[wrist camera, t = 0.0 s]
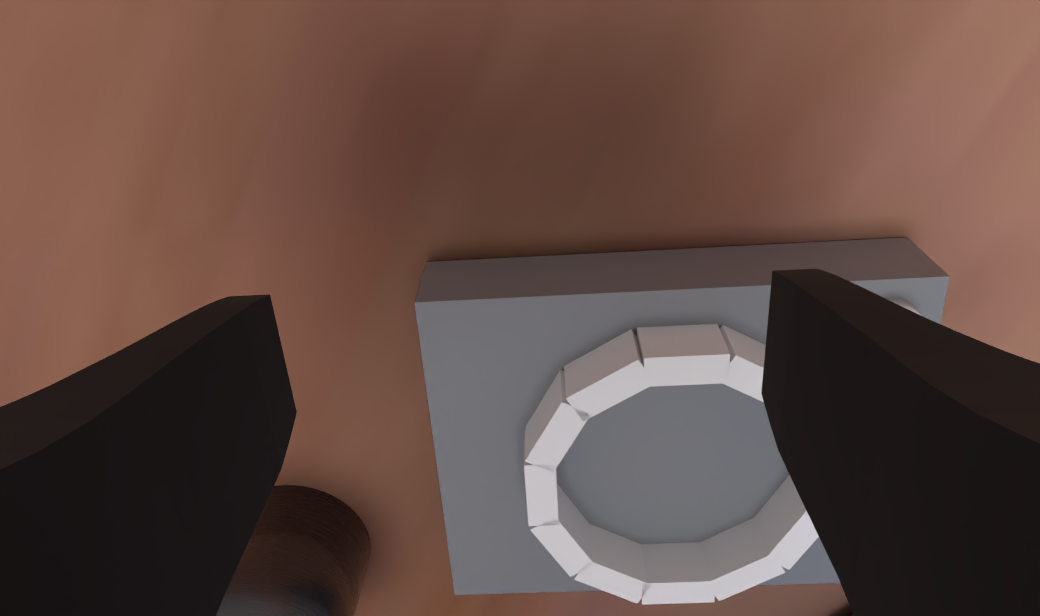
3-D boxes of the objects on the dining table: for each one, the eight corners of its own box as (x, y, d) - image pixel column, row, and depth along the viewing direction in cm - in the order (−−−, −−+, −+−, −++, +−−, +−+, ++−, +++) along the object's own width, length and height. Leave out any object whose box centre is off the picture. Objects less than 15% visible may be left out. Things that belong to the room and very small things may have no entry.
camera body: (858, 522, 26) (909, 621, 22) (461, 536, 27) (449, 635, 23) (907, 237, 21) (980, 304, 18) (426, 261, 22) (405, 331, 18)
